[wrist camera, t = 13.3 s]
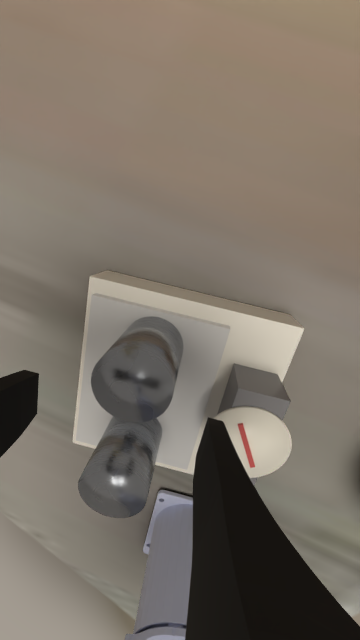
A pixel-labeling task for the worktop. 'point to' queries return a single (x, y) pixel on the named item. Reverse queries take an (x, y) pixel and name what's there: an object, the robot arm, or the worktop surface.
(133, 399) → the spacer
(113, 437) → the cylinder
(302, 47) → the worktop surface
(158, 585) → the robot arm
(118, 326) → the kitchen scale
